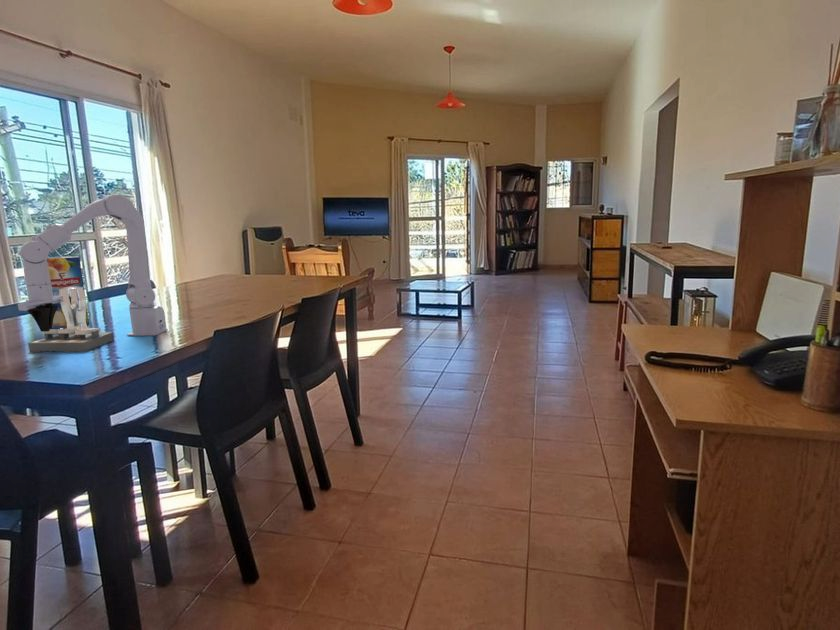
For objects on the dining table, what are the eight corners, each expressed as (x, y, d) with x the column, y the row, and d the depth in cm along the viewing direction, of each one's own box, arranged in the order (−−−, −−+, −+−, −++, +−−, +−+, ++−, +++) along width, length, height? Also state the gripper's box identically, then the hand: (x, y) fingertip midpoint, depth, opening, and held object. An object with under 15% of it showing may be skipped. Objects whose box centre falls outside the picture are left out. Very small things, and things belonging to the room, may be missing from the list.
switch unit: (114, 339, 159) (112, 325, 158) (85, 351, 146) (83, 335, 145) (62, 340, 159) (60, 326, 158) (29, 351, 147) (26, 336, 146)
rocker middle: (84, 333, 155) (84, 329, 155) (67, 333, 148) (67, 328, 148) (75, 333, 155) (75, 329, 155) (57, 333, 148) (58, 328, 148)
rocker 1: (68, 333, 155) (68, 329, 156) (50, 333, 148) (50, 329, 149) (59, 334, 156) (59, 329, 156) (41, 333, 149) (41, 329, 149)
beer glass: (95, 330, 173) (88, 285, 170) (79, 335, 166) (72, 289, 163) (76, 330, 174) (69, 286, 170) (59, 335, 167) (52, 289, 164)
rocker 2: (100, 332, 155) (100, 327, 155) (84, 334, 148) (84, 330, 148) (91, 332, 155) (91, 328, 155) (74, 334, 148) (74, 330, 148)
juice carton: (48, 330, 174) (36, 259, 169) (48, 326, 180) (37, 257, 175) (90, 325, 180) (79, 256, 176) (88, 321, 187) (78, 255, 182)
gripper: (44, 281, 153) (51, 325, 156) (4, 288, 139) (12, 336, 142) (67, 280, 153) (74, 325, 156) (29, 287, 139) (37, 336, 141)
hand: (46, 330), depth 149 cm, fingers closed, pressing on rocker 1
